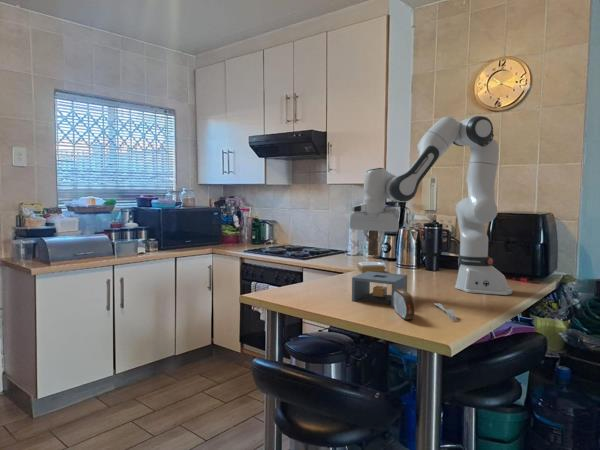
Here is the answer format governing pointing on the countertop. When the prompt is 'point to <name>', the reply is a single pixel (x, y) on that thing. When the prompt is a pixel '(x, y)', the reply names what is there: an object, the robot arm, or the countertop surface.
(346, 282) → the countertop surface
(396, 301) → the tin
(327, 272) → the countertop surface
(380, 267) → the soap dish
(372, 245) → the brown wooden bar
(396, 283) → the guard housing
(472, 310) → the countertop surface
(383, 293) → the button
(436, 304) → the fork
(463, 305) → the countertop surface
